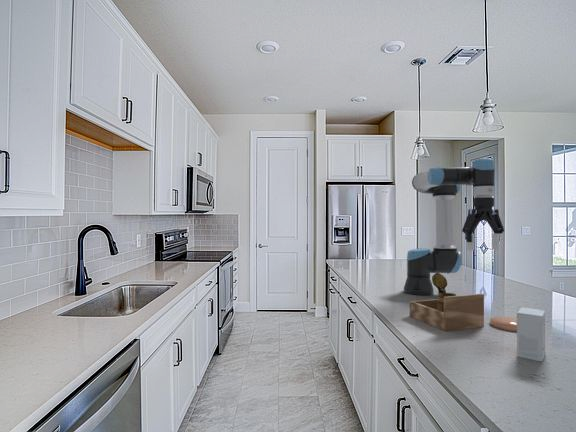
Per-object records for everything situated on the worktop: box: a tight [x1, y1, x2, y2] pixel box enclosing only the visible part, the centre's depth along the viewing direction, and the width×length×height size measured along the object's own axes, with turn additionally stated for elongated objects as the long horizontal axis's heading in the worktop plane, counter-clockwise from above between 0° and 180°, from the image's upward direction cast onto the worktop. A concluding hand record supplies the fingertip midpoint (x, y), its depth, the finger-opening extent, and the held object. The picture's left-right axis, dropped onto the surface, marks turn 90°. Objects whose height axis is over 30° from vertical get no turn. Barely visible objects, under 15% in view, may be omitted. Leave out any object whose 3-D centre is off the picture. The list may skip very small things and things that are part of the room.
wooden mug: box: [431, 273, 457, 312], centre depth 142 cm, size 9×14×18 cm, turn 3°
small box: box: [516, 306, 546, 362], centre depth 107 cm, size 8×6×13 cm
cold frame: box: [409, 293, 485, 332], centre depth 142 cm, size 20×17×12 cm
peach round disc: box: [489, 316, 517, 333], centre depth 136 cm, size 14×14×2 cm
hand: (483, 250), depth 146 cm, fingers open, 13 cm apart
